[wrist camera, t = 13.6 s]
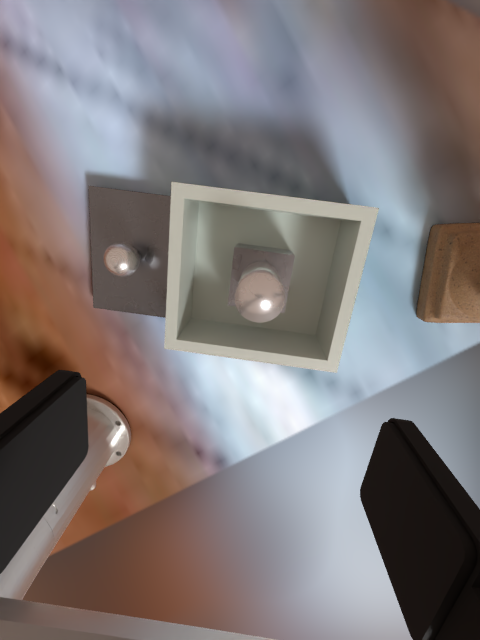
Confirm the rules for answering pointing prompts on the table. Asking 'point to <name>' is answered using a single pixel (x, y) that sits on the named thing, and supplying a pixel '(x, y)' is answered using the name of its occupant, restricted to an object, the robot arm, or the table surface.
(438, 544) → the robot arm
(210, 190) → the bin
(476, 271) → the candle holder
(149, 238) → the stud base
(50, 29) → the table surface
